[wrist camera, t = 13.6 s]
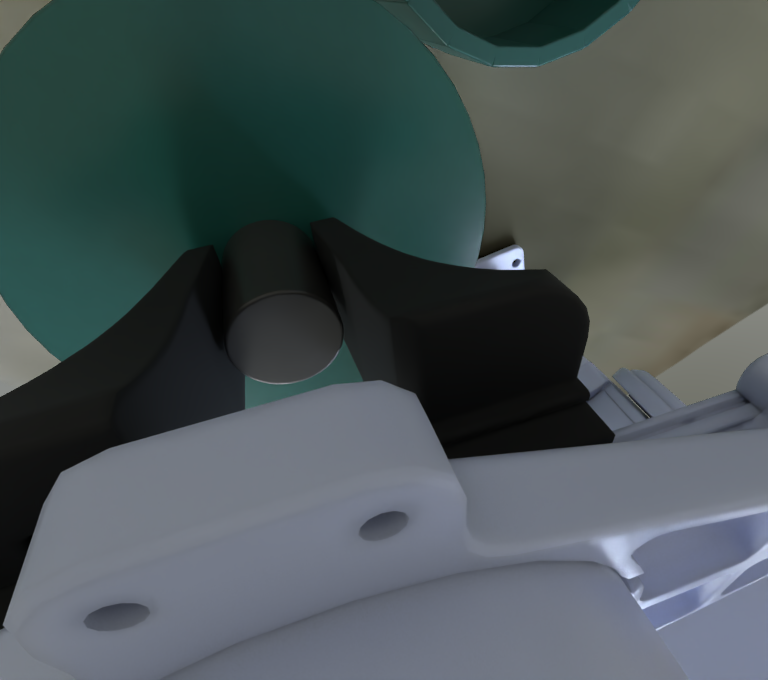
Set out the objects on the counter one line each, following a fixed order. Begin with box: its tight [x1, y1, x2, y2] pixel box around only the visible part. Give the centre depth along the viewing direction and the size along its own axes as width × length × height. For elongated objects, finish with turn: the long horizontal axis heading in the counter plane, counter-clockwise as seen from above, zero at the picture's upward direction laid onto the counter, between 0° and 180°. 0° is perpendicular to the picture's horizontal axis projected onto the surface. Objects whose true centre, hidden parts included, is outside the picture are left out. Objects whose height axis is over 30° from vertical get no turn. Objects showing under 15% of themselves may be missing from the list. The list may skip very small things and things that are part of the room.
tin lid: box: [0, 0, 486, 409], centre depth 11 cm, size 12×12×4 cm
